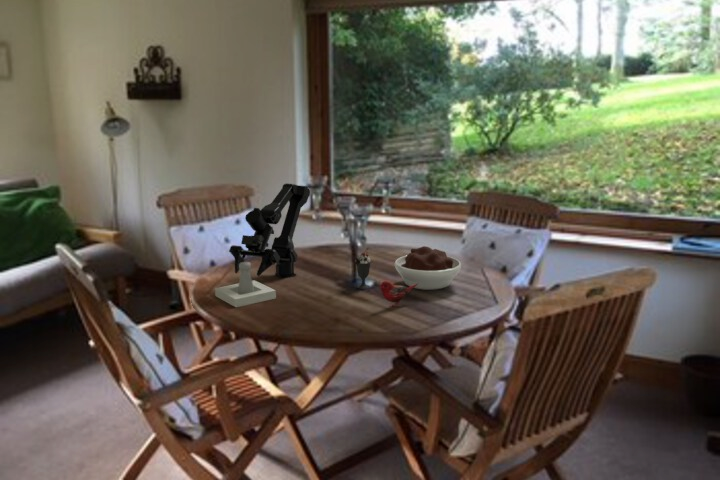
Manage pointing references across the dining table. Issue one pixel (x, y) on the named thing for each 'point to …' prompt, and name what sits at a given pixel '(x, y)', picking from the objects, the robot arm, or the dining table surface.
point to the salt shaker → (245, 279)
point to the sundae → (363, 268)
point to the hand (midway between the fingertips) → (246, 274)
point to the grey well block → (236, 300)
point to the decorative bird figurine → (394, 292)
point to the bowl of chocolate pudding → (427, 268)
